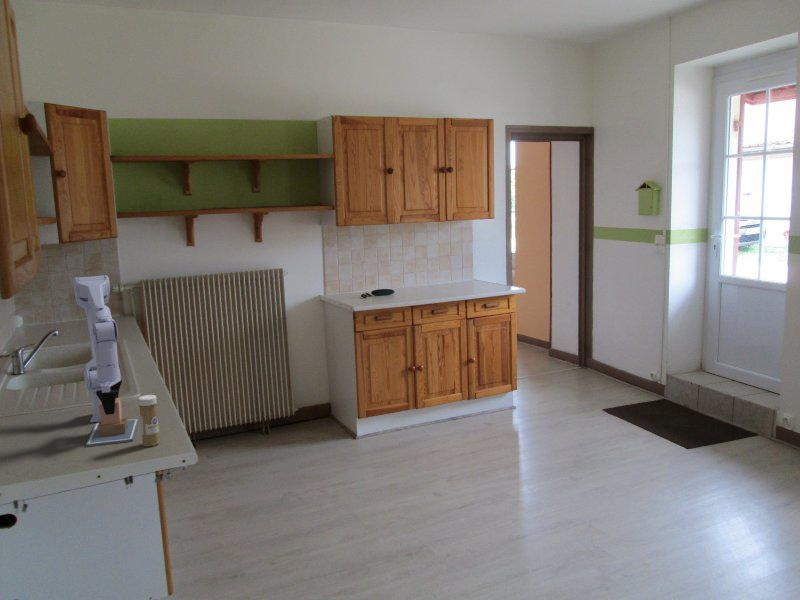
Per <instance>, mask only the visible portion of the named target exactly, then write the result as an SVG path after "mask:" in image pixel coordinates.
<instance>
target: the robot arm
mask: <svg viewBox="0 0 800 600" xmlns="http://www.w3.org/2000/svg"><path fill="white" fill-rule="evenodd" d="M72 283H73V292H74V298H75V302H76V305H77V306H78V307H81V308H82V309H83V310H84V312H85V316H86V322H87V327H88V328H87V329H88V336H89V343H90V351H91V359H90V360H89V361H88V362H87V363H86V364H85V365H84V367H83V379H84V385H85V389H86V390H87V391H89V392H90V396H91V406H92V417H91V419H90V420H89V421H90V423H94V422H95V423H96V422H97V423H99V422H100V420H101V419H100V409H99V404H100V402H101V403H102V405H103V408H104V411H105V414H106V415H110V414H114V411H115V400H116V398H119V393H120V389H121V385H122V383H123V379H122V377H121V370H120V367H119V366H120V365H119V356H118V345H117V344H118V343H117V341H118V338H119V330H118V325H117V322H116V320H115V319H113V317H112V313H111V309H110V307H108V306H107V304H108V303H109V300H110V293H111V283H110V278H109V276H108V275H107V274H104V275H96V276H95V275H94V276H82V277H81V276H79V277H78V276H75V277H74V278H73V279H72ZM121 410H122V411H123V408H121Z"/></svg>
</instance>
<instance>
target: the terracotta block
mask: <svg viewBox="0 0 800 600" xmlns="http://www.w3.org/2000/svg"><path fill="white" fill-rule="evenodd" d="M99 409H100V419H101V425H106V424H115V423H120V422H121V419H122V416H123V409H122V403H121V397H118V398H116V400H115V411H114V414H110V415H106V414H105V411H104V408H103V405H102V403H101V402H100V404H99ZM121 409H122V410H121Z"/></svg>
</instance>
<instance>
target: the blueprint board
mask: <svg viewBox="0 0 800 600" xmlns="http://www.w3.org/2000/svg"><path fill="white" fill-rule="evenodd" d="M127 420H128V427H127V430H126V433H125V434H118V435H109V436H101V437H99V435H98V425H99V423H100V422H97V423H96V422H95V425H94V426H93V428H92V431H91V432H90V434H89V437H88V439H87V441H86V442H85V448H87V447H94V446H95V447H96V446H104V445H112V444H122V443H129V442H134V440H135V437H136V432H137V428H138V425H139V422H140V419H139V418H133V419H131V418H130V419H127Z"/></svg>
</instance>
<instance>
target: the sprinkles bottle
mask: <svg viewBox="0 0 800 600" xmlns="http://www.w3.org/2000/svg"><path fill="white" fill-rule="evenodd" d="M138 407H139V414H140V416H139V417H140V419H139V421H140V428H141V430H140V431H141V438H142V445H143V446H144V447H154V446H157V445H159V444H160V443H161V440H160V436H159V435H160V433H159V431H160V430H159V421H158V412H157V411H158V410H157V409H158V408H157V395H154V394H145V395H142V396H139V397H138Z"/></svg>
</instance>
